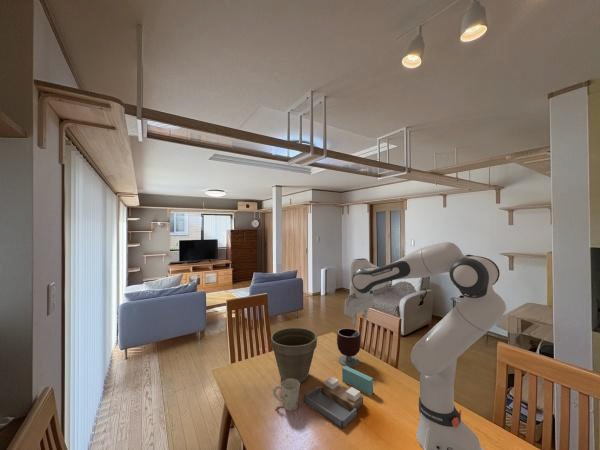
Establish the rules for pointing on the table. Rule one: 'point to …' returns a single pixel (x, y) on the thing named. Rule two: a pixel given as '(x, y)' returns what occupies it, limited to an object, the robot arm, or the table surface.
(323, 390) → the board
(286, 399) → the mug
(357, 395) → the tile
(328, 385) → the tile
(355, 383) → the teal rectangular block
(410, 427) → the table surface
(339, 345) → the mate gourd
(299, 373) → the plant pot
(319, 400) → the tray
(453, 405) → the robot arm
